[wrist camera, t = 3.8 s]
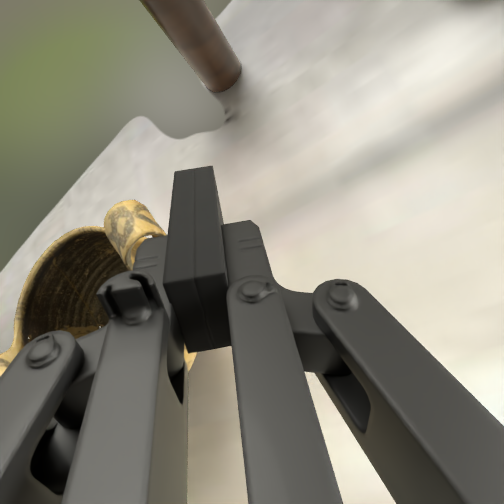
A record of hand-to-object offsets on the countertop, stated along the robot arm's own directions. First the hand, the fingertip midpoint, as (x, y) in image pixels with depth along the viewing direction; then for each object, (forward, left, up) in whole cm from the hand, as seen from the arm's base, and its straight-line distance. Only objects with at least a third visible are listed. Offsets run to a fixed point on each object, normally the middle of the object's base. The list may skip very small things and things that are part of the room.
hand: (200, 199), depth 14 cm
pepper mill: (-16, -22, -20) cm, 34 cm away
